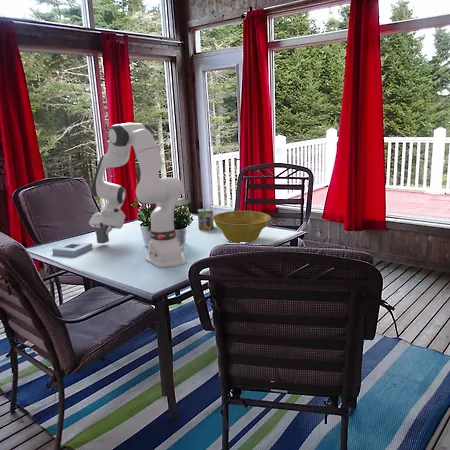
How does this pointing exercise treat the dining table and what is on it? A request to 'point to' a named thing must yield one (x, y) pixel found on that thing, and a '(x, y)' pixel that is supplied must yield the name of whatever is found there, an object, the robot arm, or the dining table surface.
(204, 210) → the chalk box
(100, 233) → the plug
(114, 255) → the dining table surface
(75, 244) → the socket
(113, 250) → the dining table surface
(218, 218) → the planter bowl
